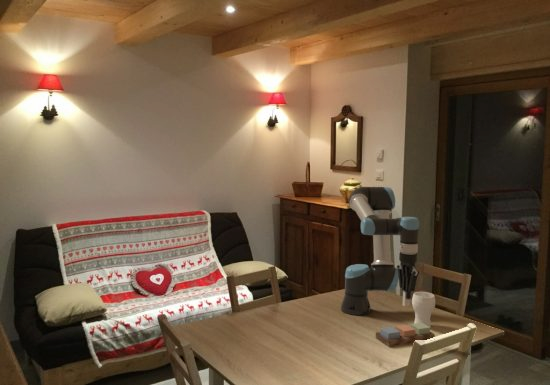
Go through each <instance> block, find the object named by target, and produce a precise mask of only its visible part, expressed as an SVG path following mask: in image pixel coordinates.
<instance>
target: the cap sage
mask: <svg viewBox="0 0 550 385" xmlns="http://www.w3.org/2000/svg"><path fill="white" fill-rule="evenodd" d="M410 327H412V328H413V329H415V333H416V334H418V335H423V334H429V333H430V332H431V327H429V326H427V325H425V324H423V323H416V324H414V323H410Z"/></svg>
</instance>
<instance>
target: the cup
mask: <svg viewBox="0 0 550 385" xmlns="http://www.w3.org/2000/svg"><path fill="white" fill-rule="evenodd" d="M411 304H412V308H413V311H414V316H415V317H414V322H413V324H416V323H423V324H425V325H427V326H429V327H430V328H431V326H432V325H431V315H432V313H433V312H434V310H435V307H436V297H435V294H433V293H431V292H429V291H428V292H427V291H414V293H413V295H412V298H411Z"/></svg>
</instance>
